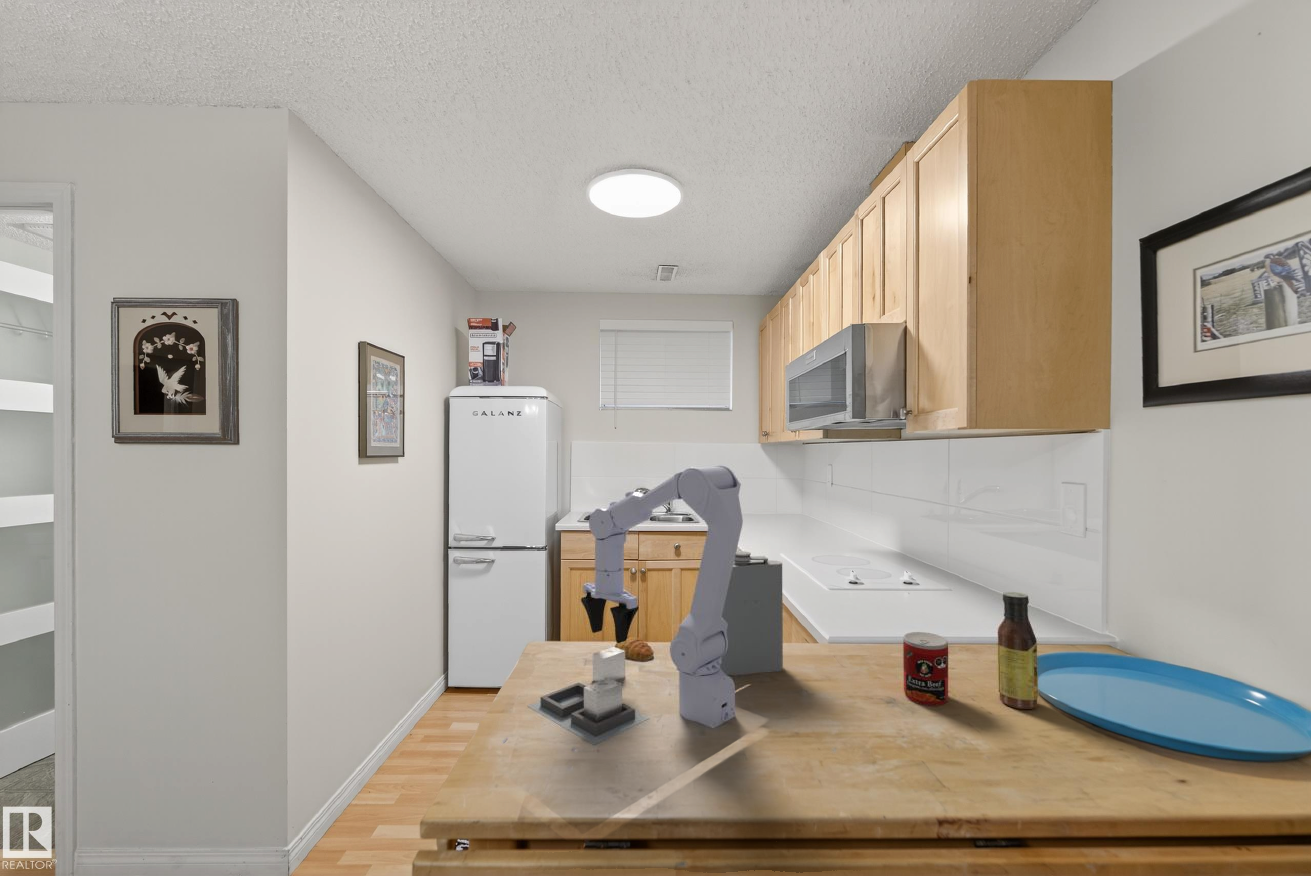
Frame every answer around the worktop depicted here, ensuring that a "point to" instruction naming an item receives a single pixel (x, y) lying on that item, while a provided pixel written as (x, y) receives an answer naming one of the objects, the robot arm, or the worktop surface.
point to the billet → (602, 700)
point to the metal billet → (609, 664)
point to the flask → (753, 616)
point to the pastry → (635, 649)
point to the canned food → (925, 668)
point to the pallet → (570, 715)
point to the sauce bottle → (1017, 654)
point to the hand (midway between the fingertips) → (608, 636)
